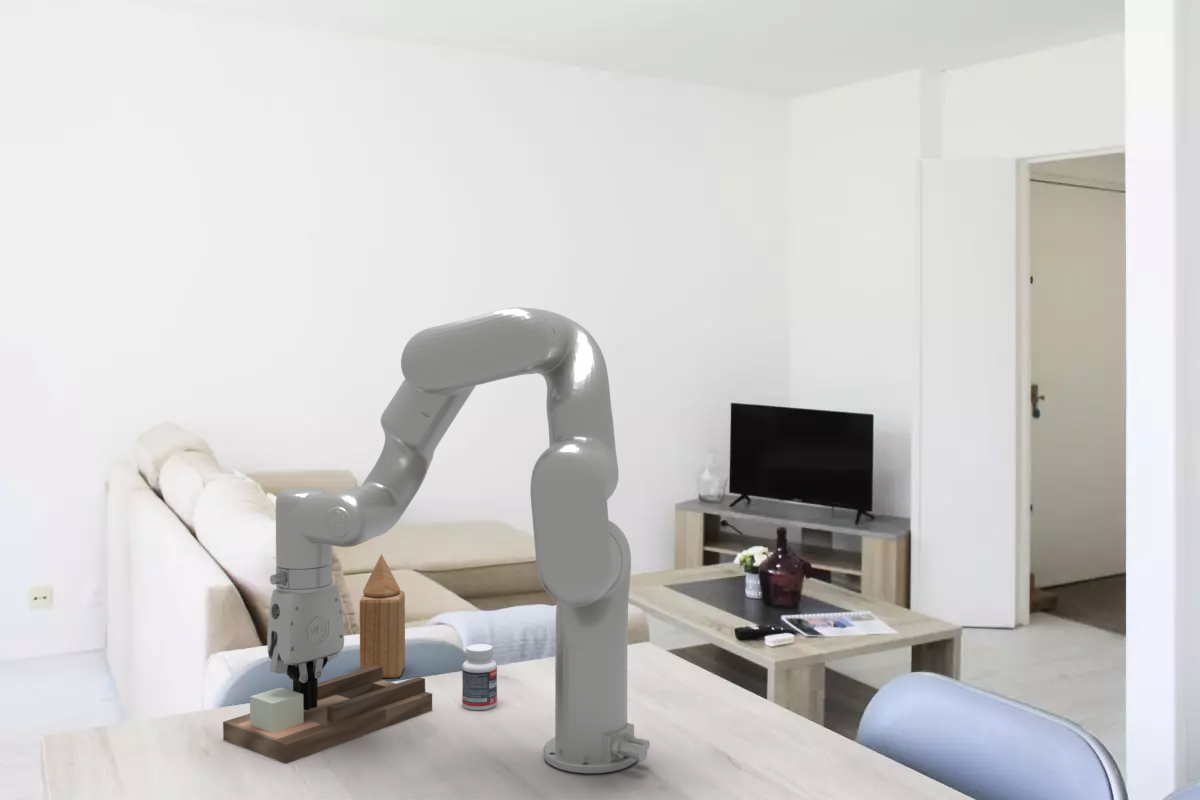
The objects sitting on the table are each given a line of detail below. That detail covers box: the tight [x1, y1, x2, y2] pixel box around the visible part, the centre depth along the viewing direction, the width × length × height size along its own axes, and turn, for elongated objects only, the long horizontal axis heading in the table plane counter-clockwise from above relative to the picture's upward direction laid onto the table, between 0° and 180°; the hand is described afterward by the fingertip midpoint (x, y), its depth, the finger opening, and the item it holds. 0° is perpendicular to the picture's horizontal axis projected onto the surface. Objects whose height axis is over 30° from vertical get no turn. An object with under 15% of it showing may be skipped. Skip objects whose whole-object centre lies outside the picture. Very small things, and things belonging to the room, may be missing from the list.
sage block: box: [249, 687, 304, 733], centre depth 147 cm, size 5×5×4 cm
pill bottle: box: [461, 643, 498, 711], centre depth 162 cm, size 5×5×9 cm
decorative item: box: [359, 554, 406, 679], centre depth 178 cm, size 7×7×20 cm
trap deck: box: [222, 666, 433, 764], centre depth 154 cm, size 14×26×4 cm, turn 143°
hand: (305, 706), depth 150 cm, fingers closed
